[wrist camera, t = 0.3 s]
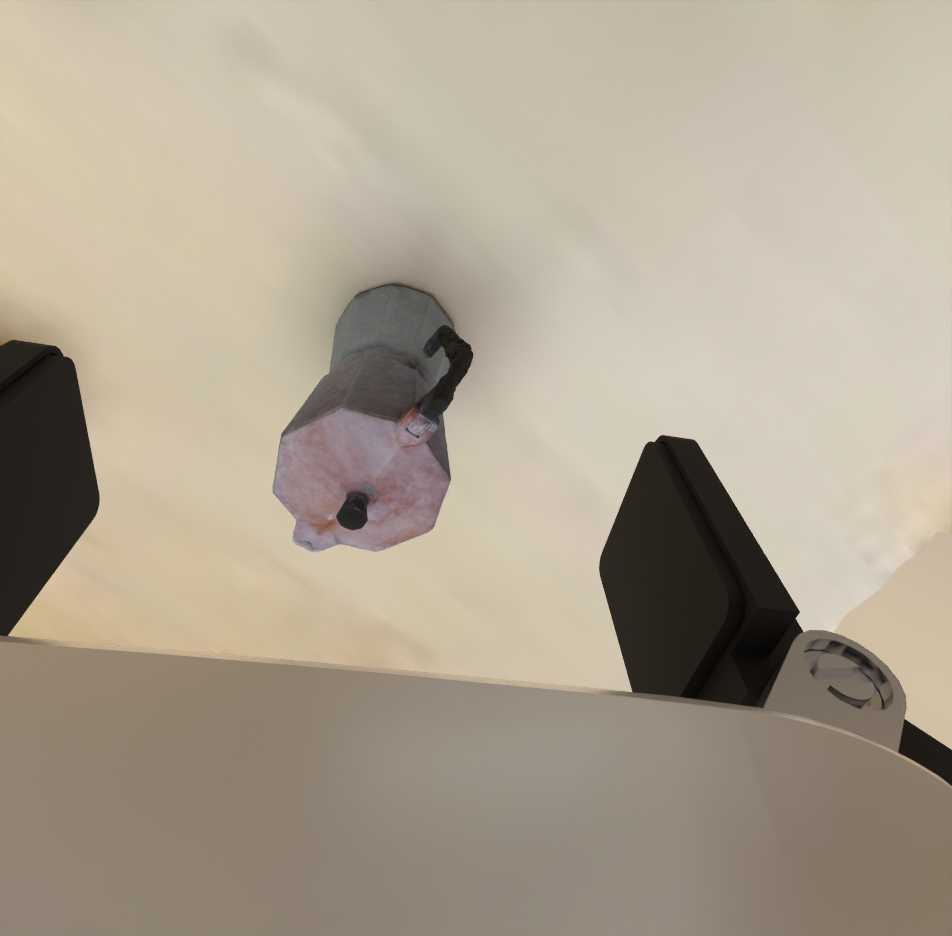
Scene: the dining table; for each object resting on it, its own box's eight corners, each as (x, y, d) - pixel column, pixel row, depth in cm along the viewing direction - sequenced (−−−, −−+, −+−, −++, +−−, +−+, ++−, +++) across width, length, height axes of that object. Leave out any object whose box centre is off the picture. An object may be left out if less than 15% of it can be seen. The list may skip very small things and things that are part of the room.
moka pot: (290, 380, 48) (208, 561, 32) (395, 206, 41) (360, 322, 25) (397, 440, 52) (372, 630, 35) (511, 288, 45) (546, 437, 28)
